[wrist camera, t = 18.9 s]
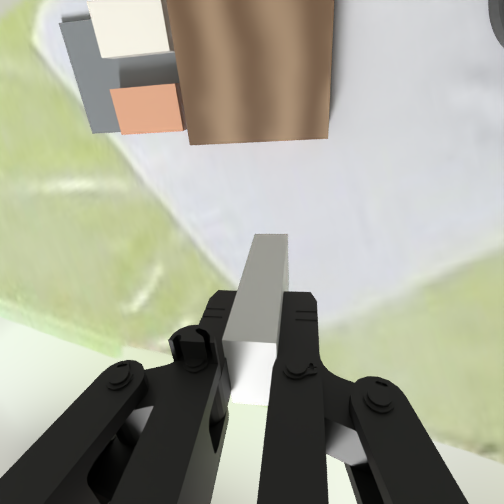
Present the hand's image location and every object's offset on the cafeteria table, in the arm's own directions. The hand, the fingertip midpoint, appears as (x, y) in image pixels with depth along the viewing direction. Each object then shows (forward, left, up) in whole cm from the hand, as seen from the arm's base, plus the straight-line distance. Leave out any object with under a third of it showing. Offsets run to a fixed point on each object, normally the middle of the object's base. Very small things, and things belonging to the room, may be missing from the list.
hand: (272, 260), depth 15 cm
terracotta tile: (+17, -5, -28) cm, 33 cm away
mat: (+20, -8, -28) cm, 35 cm away
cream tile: (+17, -13, -28) cm, 35 cm away
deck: (+4, -9, -28) cm, 30 cm away
